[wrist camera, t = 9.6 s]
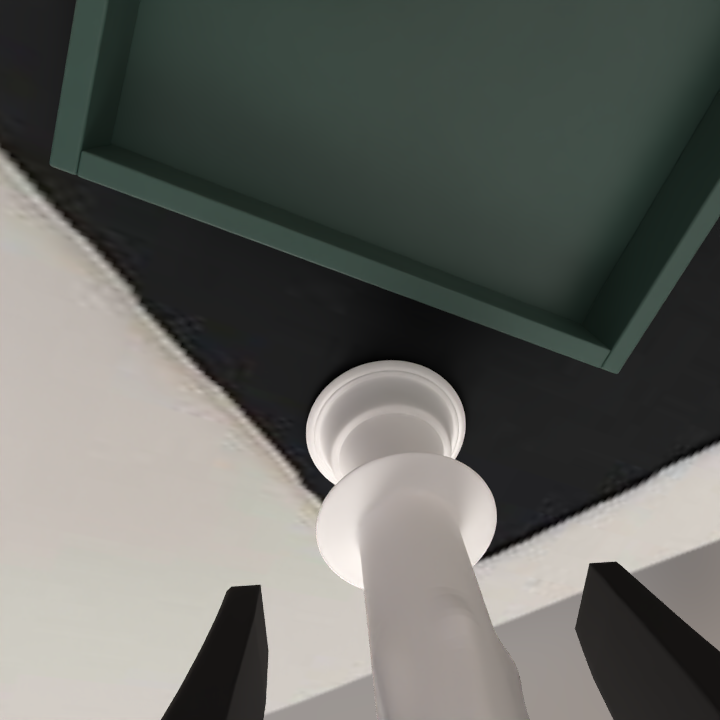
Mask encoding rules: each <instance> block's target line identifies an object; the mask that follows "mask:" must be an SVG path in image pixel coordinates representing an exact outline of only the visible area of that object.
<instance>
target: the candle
mask: <svg viewBox="0 0 720 720" xmlns="http://www.w3.org/2000/svg"><path fill="white" fill-rule="evenodd" d="M465 427H466V422H465V413H464V409H463V406H462V403H461V401H460V398H459V397H458V395H457V393H456V392H455V390H454V389H453V387H452V386H451V385H450V384H449V383H448V382H447V381H446V380H445V379H444V378H443V377H441V376H440V375H439V374H437V373H436V372H434V371H432V370H430V369H428V368H426V367H424V366H421V365H419V364H415V363H412V362H407V361H400V360H382V361H375V362H370V363H366V364H363V365H360V366H357V367H355V368H352V369H350V370H348V371H346V372H344V373H343V374H341V375H340V376H338V377H337V378H335V379H334V380H333V381H332V382H331V383H329V384H328V385H327V386H326V387H325V388H324V390H323V391H322V392H321V393H320V394H319V396H318V397H317V399H316V400H315V402H314V404H313V406H312V408H311V410H310V413H309V416H308V420H307V426H306V441H307V446H308V450H309V453H310V456H311V458H312V460H313V462H314V464H315V465H316V467H317V468H318V470H319V471H320V472H321V473H322V474H323V475H324V476H325V477H326V478H327V479H328V480H329V481H331V482H332V483H333V484H335V486H334V487H333V488H332V489H331V491H330V492H329V493H328V495H327V496H326V498H325V500H324V501H323V503H322V505H321V508H320V510H319V513H318V517H317V522H316V539H317V544H318V548H319V550H320V553H321V555H322V557H323V559H324V560H325V562H326V563H327V565H328V566H329V567H330V568H331V569H332V571H333V572H334V573H336V574H337V575H338V576H339V577H340V578H342V579H343V580H345V581H346V582H348V583H350V584H351V585H353V586H356V587H358V588H360V589H363V590H364V596H365V605H366V615H367V625H368V635H369V644H370V654H371V664H372V674H373V683H374V692H375V702H376V712H377V720H530V719H529V716H528V713H527V710H526V706H525V702H524V698H523V693H522V687H521V681H520V676H519V673H518V671H517V668H516V665H515V663H514V661H513V660H512V658H511V656H510V654H509V653H508V652H507V650H506V649H505V648H504V646H503V645H502V643H501V642H500V640H499V638H498V636H497V635H496V633H495V630H494V628H493V626H492V623H491V620H490V617H489V614H488V611H487V609H486V606H485V603H484V600H483V597H482V594H481V591H480V588H479V585H478V582H477V579H476V576H475V573H474V571H473V568H472V567H473V566H474V565H475V564H476V563H477V562H478V561H479V559H480V558H481V557H482V556H483V554H484V553H485V552H486V550H487V548H488V547H489V545H490V543H491V540H492V538H493V535H494V532H495V528H496V521H497V512H496V505H495V501H494V498H493V495H492V493H491V491H490V489H489V487H488V486H487V484H486V483H485V482H484V480H483V479H482V478H481V477H480V476H479V475H478V474H477V473H476V472H475V471H474V470H472V469H471V468H469V467H468V466H466V465H465V464H463V463H461V462H459V461H457V460H455V458H456V457H457V455H458V453H459V451H460V449H461V446H462V443H463V440H464V436H465Z"/></svg>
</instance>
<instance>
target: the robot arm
mask: <svg viewBox="0 0 720 720" xmlns="http://www.w3.org/2000/svg"><path fill="white" fill-rule="evenodd" d="M575 630H576V632H577V635H578V638H579V641H580V644H581V646H582V650H583V652H584V655H585V657H586V661H587V663H588V666H589V668H590V671H591V674H592V676H593V679H594V681H595V683H596V685H597V687H598V689H599V691H600V693H601V695H602V697H603V699H604V701H605V703H606V705H607V707H608V709H609V711H610V713H611V715H612V717H613V719H614V720H720V651H718V650H717V649H716V648H715V647H714V646H712V645H711V644H710V643H709V642H708V641H706V640H705V639H704V638H703V637H702V636H701V635H699V634H698V633H697V632H696V631H695V630H693V629H692V628H691V627H690V626H689V625H688V624H686V623H685V622H684V621H683V620H682V619H681V618H680V617H678V616H677V615H676V614H675V613H674V612H673V611H672V610H670V609H669V608H668V607H667V606H666V605H665V604H664V603H663V602H661V601H660V600H659V599H658V598H656V596H655V595H653V594H652V593H651V592H650V591H649V590H648V589H647V588H646V587H645V586H643V585H642V584H641V583H640V582H639V581H638V580H637V579H636V578H634V577H633V576H632V575H631V574H630V573H629V572H628V571H627V570H625V569H624V568H623V567H622V566H621V565H620V564H618V563H617V562H604V563H590V564H589V568H588V573H587V577H586V582H585V586H584V591H583V595H582V600H581V605H580V609H579V614H578V618H577V623H576V627H575ZM267 669H268V644H267V635H266V627H265V619H264V610H263V602H262V594H261V585H251V586H235V587H231V588H230V589H229V590H227V592H226V595H225V597H224V600H223V602H222V605H221V607H220V609H219V612H218V614H217V616H216V618H215V621H214V623H213V625H212V627H211V629H210V631H209V633H208V635H207V637H206V640H205V642H204V644H203V646H202V648H201V650H200V652H199V653H198V655H197V657H196V659H195V661H194V663H193V665H192V667H191V668H190V670H189V672H188V674H187V676H186V678H185V680H184V681H183V683H182V685H181V687H180V689H179V690H178V692H177V694H176V696H175V697H174V699H173V701H172V702H171V704H170V706H169V707H168V709H167V711H166V712H165V714H164V716H163V717H162V719H161V720H263V718H264V711H265V704H266V688H267Z"/></svg>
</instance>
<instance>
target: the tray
mask: <svg viewBox="0 0 720 720" xmlns="http://www.w3.org/2000/svg"><path fill="white" fill-rule="evenodd" d="M49 163H50V165H51V166H52V167H54V168H57V169H60V170H63V171H65V172H68V173H71V174H73V175H77V174H78V176H79V177H81V178H84V179H86V180H89V181H92V182H95V183H97V184H100V185H103V186H105V187H108V188H111V189H114V190H116V191H119V192H122V193H125V194H127V195H130V196H133V197H135V198H138V199H141V200H144V201H146V202H149V203H152V204H154V205H157V206H160V207H163V208H165V209H168V210H171V211H174V212H176V213H179V214H182V215H184V216H187V217H190V218H193V219H195V220H198V221H201V222H203V223H206V224H209V225H212V226H214V227H217V228H220V229H222V230H225V231H228V232H231V233H233V234H236V235H239V236H242V237H244V238H247V239H250V240H252V241H255V242H258V243H261V244H263V245H266V246H269V247H271V248H274V249H277V250H280V251H282V252H285V253H288V254H291V255H293V256H296V257H299V258H301V259H304V260H307V261H310V262H312V263H315V264H318V265H320V266H323V267H326V268H329V269H331V270H334V271H337V272H339V273H342V274H345V275H348V276H350V277H353V278H356V279H359V280H361V281H364V282H367V283H369V284H372V285H375V286H378V287H380V288H383V289H386V290H388V291H391V292H394V293H397V294H399V295H402V296H405V297H408V298H410V299H413V300H416V301H418V302H421V303H424V304H427V305H429V306H432V307H435V308H437V309H440V310H443V311H446V312H448V313H451V314H454V315H456V316H459V317H462V318H465V319H467V320H470V321H473V322H476V323H478V324H481V325H484V326H486V327H489V328H492V329H495V330H497V331H500V332H503V333H505V334H508V335H511V336H514V337H516V338H519V339H522V340H524V341H527V342H530V343H533V344H535V345H538V346H541V347H544V348H546V349H549V350H552V351H554V352H557V353H560V354H563V355H565V356H568V357H571V358H573V359H576V360H579V361H582V362H584V363H587V364H590V365H593V366H595V367H598V368H601V369H604V370H607V371H609V372H612V373H615V374H618V373H619V371H620V370H621V368H622V367H623V365H624V363H625V362H626V360H627V359H628V357H629V356H630V354H631V353H632V351H633V350H634V348H635V346H636V345H637V343H638V342H639V340H640V339H641V337H642V336H643V334H644V332H645V331H646V329H647V328H648V326H649V325H650V323H651V322H652V320H653V318H654V317H655V315H656V314H657V312H658V311H659V309H660V308H661V306H662V305H663V303H664V301H665V300H666V298H667V297H668V295H669V294H670V292H671V291H672V289H673V287H674V286H675V284H676V283H677V281H678V280H679V278H680V277H681V275H682V273H683V272H684V270H685V269H686V267H687V266H688V264H689V263H690V261H691V260H692V258H693V256H694V255H695V253H696V252H697V250H698V249H699V247H700V246H701V244H702V242H703V241H704V239H705V238H706V236H707V235H708V233H709V232H710V230H711V228H712V227H713V225H714V224H715V222H716V221H717V219H718V218H719V216H720V0H76V6H75V12H74V18H73V24H72V30H71V36H70V42H69V48H68V54H67V60H66V66H65V72H64V78H63V84H62V90H61V96H60V102H59V108H58V114H57V120H56V126H55V132H54V138H53V144H52V150H51V156H50V162H49Z"/></svg>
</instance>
